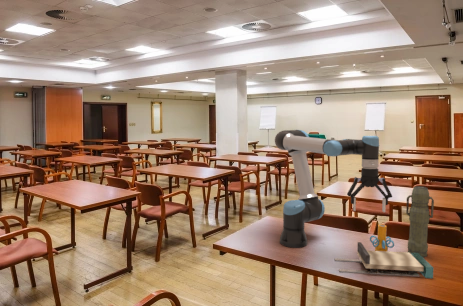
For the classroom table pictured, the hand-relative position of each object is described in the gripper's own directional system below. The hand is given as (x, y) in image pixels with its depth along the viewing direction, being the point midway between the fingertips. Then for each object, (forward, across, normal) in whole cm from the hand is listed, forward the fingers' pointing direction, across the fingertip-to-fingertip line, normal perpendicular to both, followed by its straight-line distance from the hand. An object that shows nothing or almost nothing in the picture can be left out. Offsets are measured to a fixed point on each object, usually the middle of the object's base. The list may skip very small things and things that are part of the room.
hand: (368, 211), depth 162 cm
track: (+25, +4, -9) cm, 26 cm away
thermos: (+25, +26, +11) cm, 38 cm away
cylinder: (+25, +8, +8) cm, 27 cm away
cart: (+25, +7, -9) cm, 27 cm away
